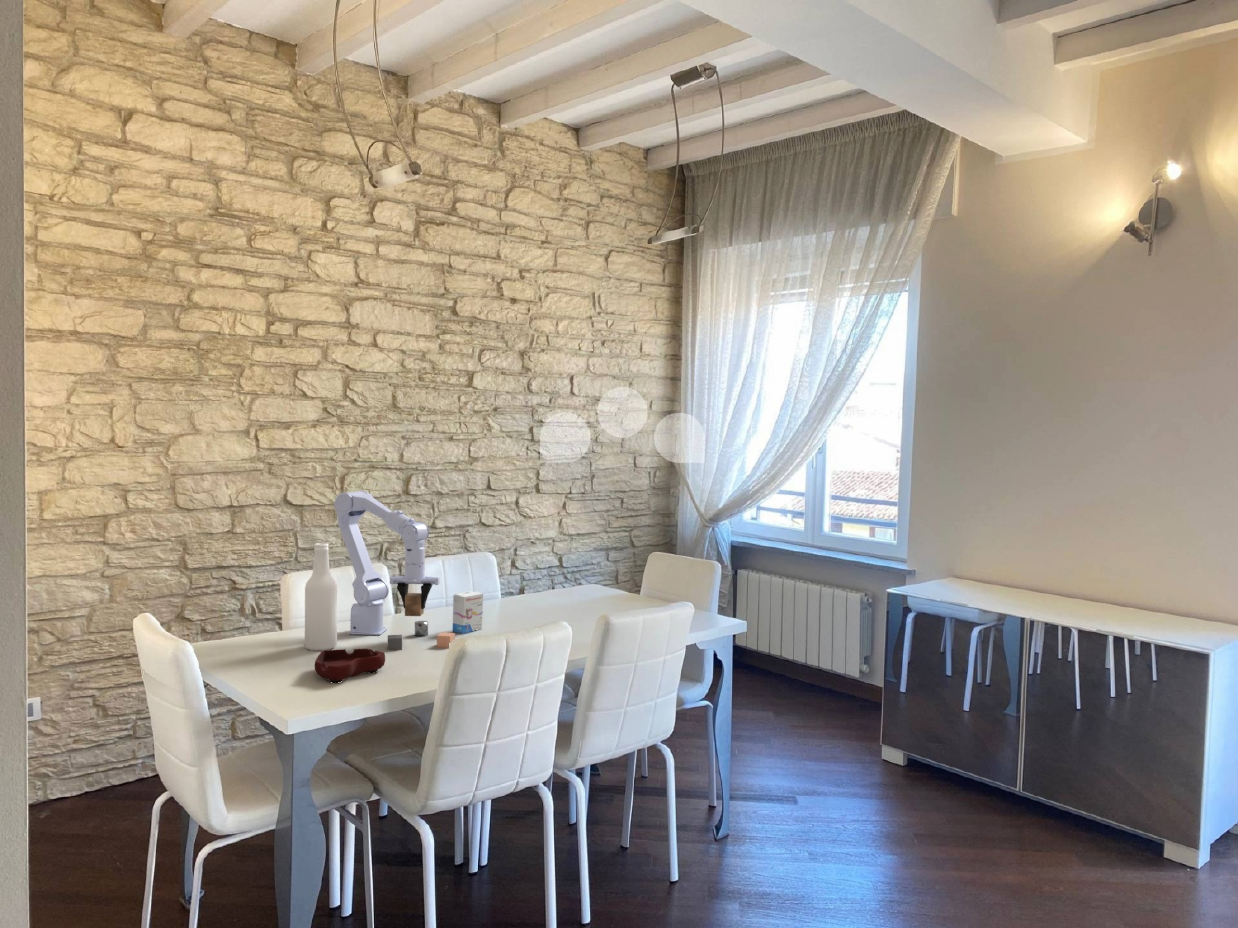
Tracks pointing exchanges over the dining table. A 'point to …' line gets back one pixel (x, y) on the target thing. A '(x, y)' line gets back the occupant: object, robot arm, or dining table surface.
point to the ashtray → (347, 663)
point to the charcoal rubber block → (394, 642)
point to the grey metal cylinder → (421, 628)
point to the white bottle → (321, 603)
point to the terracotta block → (445, 639)
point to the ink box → (467, 611)
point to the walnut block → (413, 604)
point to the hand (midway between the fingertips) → (414, 607)
